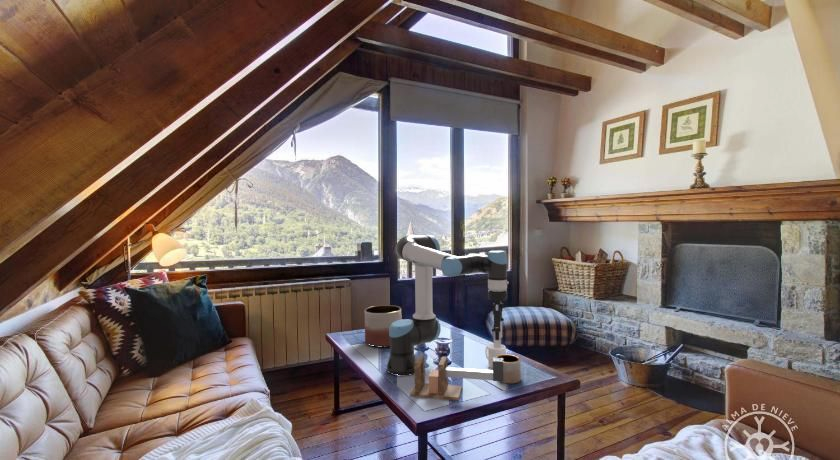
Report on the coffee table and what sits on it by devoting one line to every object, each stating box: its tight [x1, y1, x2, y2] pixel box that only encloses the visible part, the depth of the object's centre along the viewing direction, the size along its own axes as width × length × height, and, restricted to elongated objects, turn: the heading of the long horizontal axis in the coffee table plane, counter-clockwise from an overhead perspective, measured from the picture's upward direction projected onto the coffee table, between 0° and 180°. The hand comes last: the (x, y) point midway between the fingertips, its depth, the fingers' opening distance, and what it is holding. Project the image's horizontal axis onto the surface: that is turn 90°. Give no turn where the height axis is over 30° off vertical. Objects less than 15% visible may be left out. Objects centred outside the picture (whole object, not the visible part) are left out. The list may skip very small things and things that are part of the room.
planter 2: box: [496, 354, 522, 385], centre depth 176 cm, size 11×11×10 cm
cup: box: [485, 343, 507, 370], centre depth 192 cm, size 8×12×10 cm
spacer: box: [428, 369, 439, 394], centre depth 165 cm, size 4×7×7 cm, turn 166°
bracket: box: [409, 354, 463, 401], centre depth 165 cm, size 20×11×14 cm, turn 76°
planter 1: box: [364, 304, 403, 348], centre depth 233 cm, size 22×22×20 cm
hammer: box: [445, 358, 504, 383], centre depth 161 cm, size 24×4×8 cm, turn 76°
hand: (498, 342), depth 158 cm, fingers open, 13 cm apart
